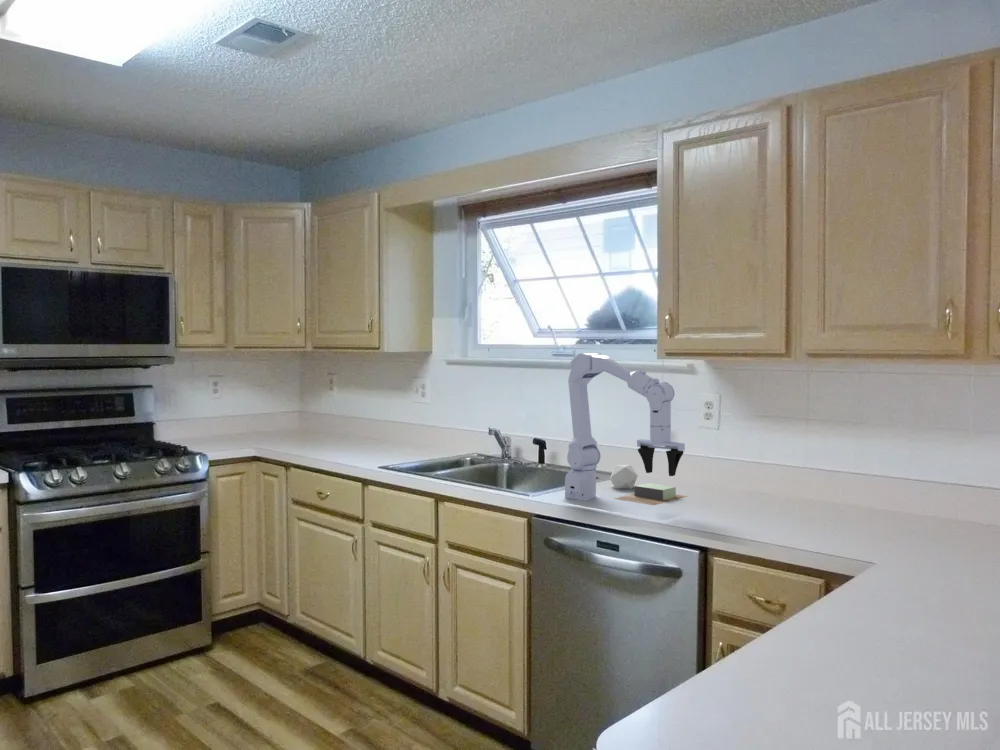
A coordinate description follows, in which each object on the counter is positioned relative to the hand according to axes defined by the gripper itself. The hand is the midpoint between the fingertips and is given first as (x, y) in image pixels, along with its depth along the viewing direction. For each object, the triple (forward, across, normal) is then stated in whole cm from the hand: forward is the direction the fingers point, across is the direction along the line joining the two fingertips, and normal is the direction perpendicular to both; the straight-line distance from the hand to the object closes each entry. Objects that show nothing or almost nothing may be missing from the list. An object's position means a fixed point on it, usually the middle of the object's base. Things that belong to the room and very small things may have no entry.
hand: (660, 474), depth 216 cm
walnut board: (+10, +10, -10) cm, 17 cm away
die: (+10, +26, -18) cm, 33 cm away
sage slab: (+8, +10, -8) cm, 15 cm away
